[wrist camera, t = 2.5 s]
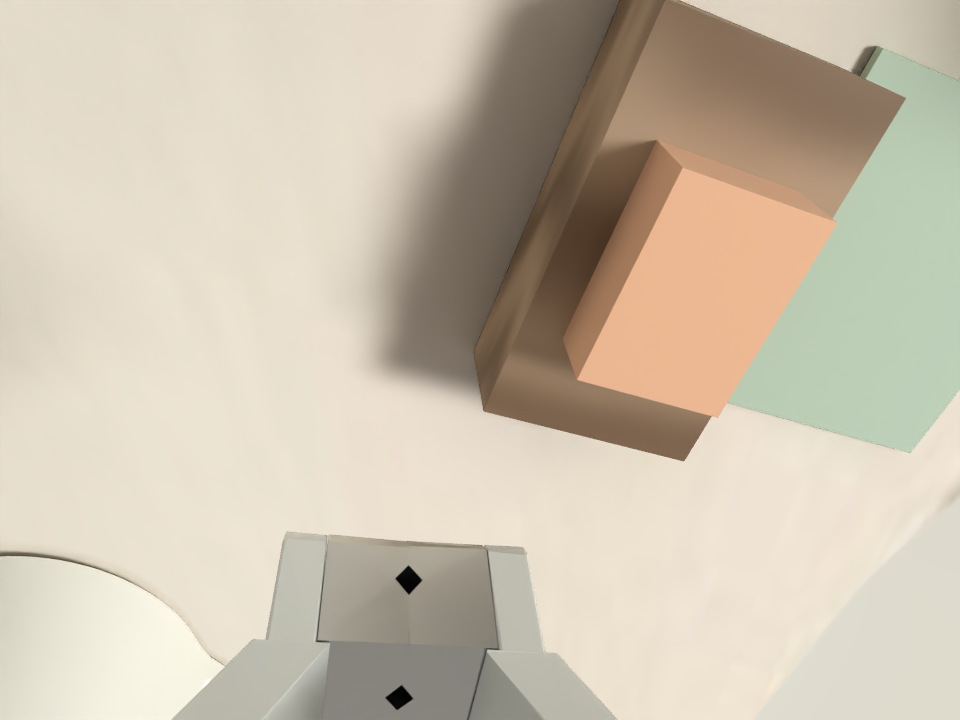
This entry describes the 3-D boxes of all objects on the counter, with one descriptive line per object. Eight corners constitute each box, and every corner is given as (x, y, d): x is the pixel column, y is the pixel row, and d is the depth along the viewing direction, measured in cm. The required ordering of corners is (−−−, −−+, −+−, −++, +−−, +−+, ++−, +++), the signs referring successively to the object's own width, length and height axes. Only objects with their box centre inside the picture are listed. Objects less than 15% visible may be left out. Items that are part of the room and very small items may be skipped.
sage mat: (905, 447, 36) (910, 453, 36) (681, 385, 33) (684, 391, 33) (1131, 155, 30) (1140, 158, 29) (877, 45, 27) (883, 48, 26)
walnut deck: (654, 400, 34) (684, 461, 30) (473, 351, 31) (483, 411, 28) (841, 67, 27) (906, 98, 24) (629, -21, 25) (666, -2, 22)
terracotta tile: (693, 375, 28) (717, 417, 26) (562, 338, 27) (576, 379, 25) (799, 191, 25) (837, 222, 23) (656, 139, 24) (682, 167, 21)
